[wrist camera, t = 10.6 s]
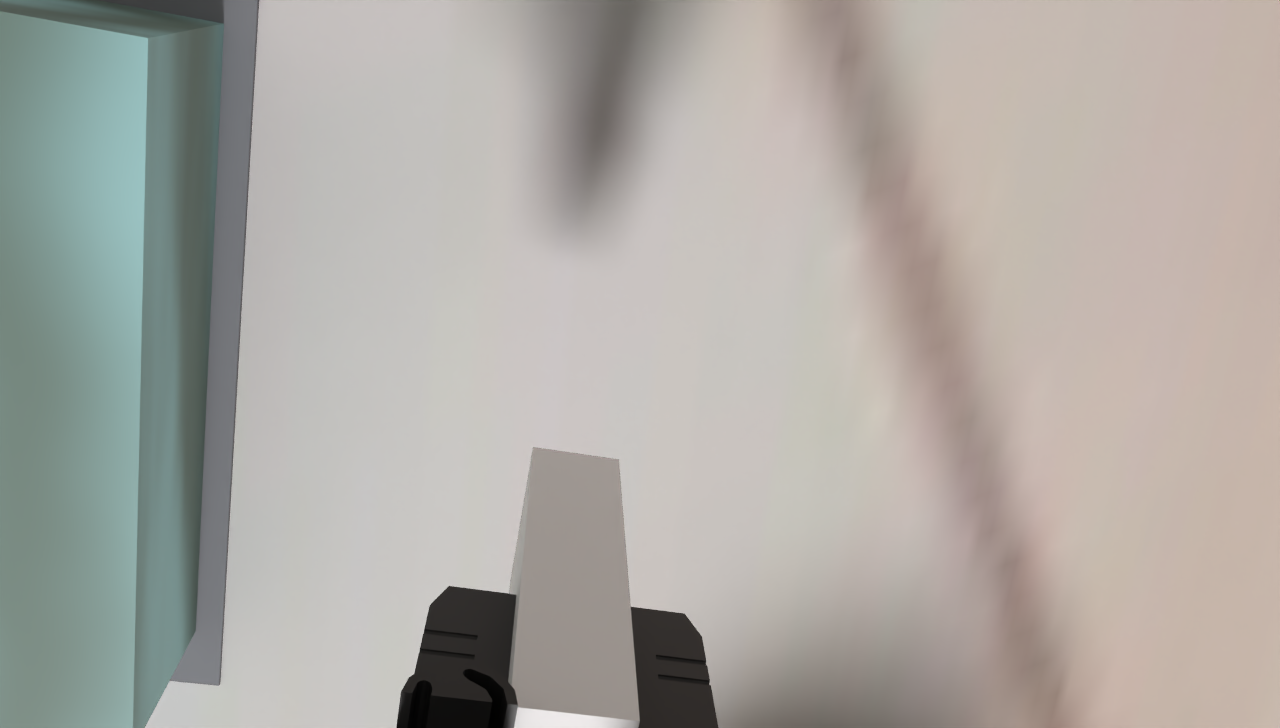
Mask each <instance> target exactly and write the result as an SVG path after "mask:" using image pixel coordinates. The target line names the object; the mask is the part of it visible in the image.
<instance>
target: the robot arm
mask: <svg viewBox="0 0 1280 728" xmlns="http://www.w3.org/2000/svg"><path fill="white" fill-rule="evenodd" d="M709 682H710V679H709V674H708V668H707V665H706V657H705V652H704V646H703V641H702V636H701V635H700V634H699V632H698V631H697V630H696V628H695V627H694V626H693V624H692V623H691V622H690V620H689V619H688V618H687V616H686V615H685V614H683V613H675V612H667V611H659V610H651V609H643V608H636V607H631V605H630V593H629V580H628V568H627V555H626V543H625V531H624V518H623V506H622V493H621V481H620V469H619V460H618V459H611V458H605V457H598V456H591V455H584V454H577V453H570V452H563V451H556V450H549V449H542V448H536V447H533V451H532V457H531V463H530V468H529V474H528V480H527V486H526V492H525V498H524V504H523V510H522V516H521V522H520V527H519V533H518V539H517V545H516V551H515V557H514V563H513V569H512V575H511V581H510V590H509V594H507V593H499V592H491V591H483V590H475V589H468V588H460V587H452V586H449V587H448V588H447V589H446V590H445V591H444V592H443V593H442V594H441V595H440V596H439V597H438V598H437V599H436V600H435V601H434V602H433V603H432V604H431V605H430V607H429V612H428V616H427V620H426V625H425V629H424V634H423V638H422V643H421V647H420V653H419V656H418V660H417V665H416V669H415V673H414V675H412V676H411V677H409V679H408V681H407V682H406V684H405V686H404V688H403V690H402V691H401V697H400V705H399V713H398V720H397V728H718V724H717V718H716V712H715V707H714V701H713V696H712V690H711V685H709Z"/></svg>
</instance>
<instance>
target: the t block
mask: <svg viewBox="0 0 1280 728" xmlns="http://www.w3.org/2000/svg"><path fill="white" fill-rule="evenodd" d="M223 34H224V24H223V23H218V22H213V21H207V20H202V19H196V18H191V17H186V16H180V15H175V14H170V13H164V12H159V11H153V10H148V9H143V8H137V7H132V6H127V5H121V4H116V3H110V2H105V1H100V0H0V728H145V726H146V724H147V722H148V720H149V718H150V716H151V714H152V713H153V711H154V709H155V707H156V705H157V703H158V701H159V699H160V697H161V696H162V694H163V692H164V690H165V688H166V686H167V684H168V682H169V681H170V679H171V677H172V675H173V673H174V671H175V669H176V667H177V665H178V664H179V662H180V660H181V658H182V656H183V654H184V652H185V650H186V649H187V647H188V645H189V643H190V641H191V639H192V637H193V635H194V633H195V632H196V616H197V595H198V573H199V551H200V530H201V508H202V487H203V465H204V444H205V422H206V401H207V379H208V357H209V336H210V314H211V293H212V271H213V250H214V228H215V206H216V185H217V163H218V142H219V120H220V99H221V77H222V56H223Z"/></svg>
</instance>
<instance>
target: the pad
mask: <svg viewBox="0 0 1280 728" xmlns="http://www.w3.org/2000/svg"><path fill="white" fill-rule="evenodd" d="M100 1H105V2H110V3H116V4H121V5H127V6H132V7H137V8H143V9H148V10H153V11H159V12H164V13H170V14H175V15H180V16H186V17H191V18H196V19H202V20H207V21H213V22H218V23H223V24H224V34H223V56H222V77H221V99H220V120H219V142H218V163H217V185H216V206H215V228H214V250H213V271H212V293H211V314H210V336H209V357H208V379H207V401H206V422H205V444H204V465H203V487H202V508H201V530H200V551H199V573H198V595H197V616H196V632H195V633H194V635H193V637H192V639H191V641H190V643H189V645H188V647H187V649H186V650H185V652H184V654H183V656H182V658H181V660H180V662H179V664H178V665H177V667H176V669H175V671H174V673H173V675H172V677H171V679H170V681H177V682H187V683H198V684H208V685H218V686H219V685H220V678H221V661H222V643H223V625H224V608H225V590H226V572H227V555H228V537H229V520H230V502H231V484H232V467H233V449H234V431H235V414H236V396H237V379H238V361H239V343H240V326H241V308H242V290H243V273H244V255H245V238H246V220H247V202H248V185H249V167H250V149H251V132H252V114H253V96H254V79H255V61H256V44H257V26H258V8H259V0H100Z"/></svg>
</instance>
